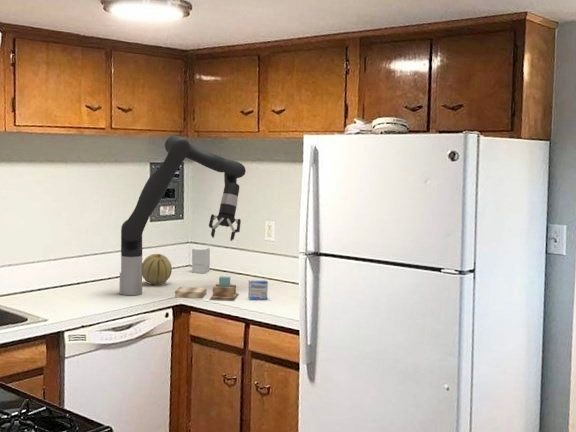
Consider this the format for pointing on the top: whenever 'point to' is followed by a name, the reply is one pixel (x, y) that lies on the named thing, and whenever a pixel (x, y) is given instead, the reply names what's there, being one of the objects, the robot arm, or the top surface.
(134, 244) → the robot arm
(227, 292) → the brown wooden box
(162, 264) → the cantaloupe
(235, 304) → the top surface
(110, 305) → the top surface
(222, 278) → the teal block
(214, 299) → the mat
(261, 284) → the medicine box
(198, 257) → the supplement box
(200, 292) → the light wooden block
